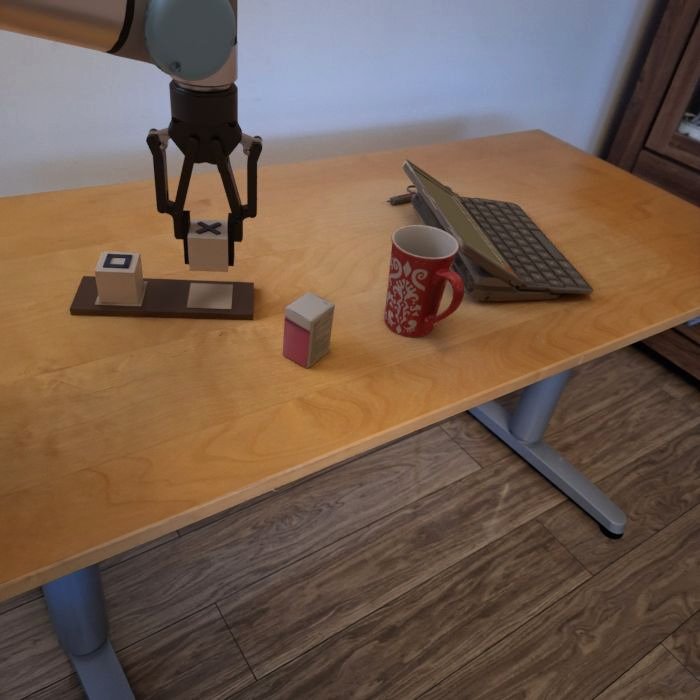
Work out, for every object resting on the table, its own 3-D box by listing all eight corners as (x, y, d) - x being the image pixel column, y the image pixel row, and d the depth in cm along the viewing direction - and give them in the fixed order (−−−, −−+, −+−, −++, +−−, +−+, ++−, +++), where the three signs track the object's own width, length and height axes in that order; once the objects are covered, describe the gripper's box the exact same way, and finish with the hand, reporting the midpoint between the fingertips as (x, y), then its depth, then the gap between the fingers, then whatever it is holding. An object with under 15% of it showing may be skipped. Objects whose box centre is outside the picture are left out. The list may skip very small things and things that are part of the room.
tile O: (106, 281, 87) (101, 249, 84) (143, 283, 88) (140, 251, 85) (99, 302, 83) (94, 269, 80) (138, 303, 84) (134, 271, 81)
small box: (304, 337, 84) (308, 289, 79) (330, 351, 83) (335, 303, 78) (280, 355, 81) (283, 306, 76) (307, 370, 79) (311, 321, 74)
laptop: (446, 306, 94) (462, 246, 87) (392, 208, 118) (401, 155, 111) (593, 302, 100) (619, 245, 93) (514, 209, 124) (529, 159, 117)
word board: (70, 314, 82) (69, 308, 82) (84, 281, 88) (82, 275, 88) (253, 320, 86) (253, 313, 85) (253, 287, 92) (253, 281, 91)
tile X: (192, 251, 85) (191, 217, 82) (229, 252, 86) (229, 219, 83) (189, 270, 82) (187, 235, 78) (227, 272, 82) (227, 237, 79)
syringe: (367, 198, 120) (368, 190, 119) (437, 184, 129) (438, 176, 128) (391, 216, 115) (392, 207, 114) (461, 200, 124) (463, 192, 123)
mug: (365, 312, 90) (378, 230, 82) (414, 298, 95) (431, 219, 86) (415, 363, 83) (436, 279, 74) (467, 346, 87) (491, 264, 78)
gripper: (113, 84, 65) (136, 272, 80) (285, 98, 68) (277, 277, 82) (125, 64, 71) (145, 242, 85) (283, 77, 73) (276, 248, 88)
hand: (210, 259), depth 84 cm, fingers closed on tile X, 5 cm apart
